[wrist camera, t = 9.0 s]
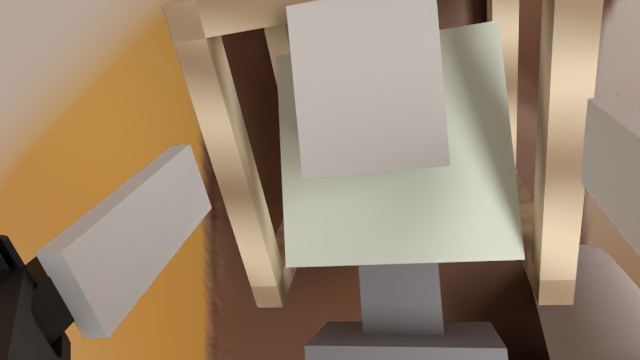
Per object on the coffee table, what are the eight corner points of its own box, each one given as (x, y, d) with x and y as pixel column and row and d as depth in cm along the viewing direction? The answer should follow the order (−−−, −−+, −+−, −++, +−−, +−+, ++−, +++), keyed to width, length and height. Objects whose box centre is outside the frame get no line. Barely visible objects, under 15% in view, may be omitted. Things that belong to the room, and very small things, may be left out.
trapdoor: (292, 73, 27) (262, 40, 22) (490, 43, 24) (506, -2, 19) (307, 391, 25) (278, 432, 20) (528, 400, 22) (556, 451, 17)
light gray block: (333, 57, 22) (285, 6, 15) (430, 42, 21) (434, -22, 13) (343, 169, 23) (302, 178, 15) (440, 161, 21) (450, 166, 14)
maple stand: (263, -13, 29) (161, 5, 17) (512, -64, 25) (612, -88, 13) (308, 189, 36) (257, 307, 24) (509, 174, 32) (573, 304, 20)
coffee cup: (508, 317, 38) (561, 502, 25) (513, 229, 34) (580, 396, 21) (627, 319, 36) (754, 523, 23) (648, 225, 32) (817, 409, 19)
